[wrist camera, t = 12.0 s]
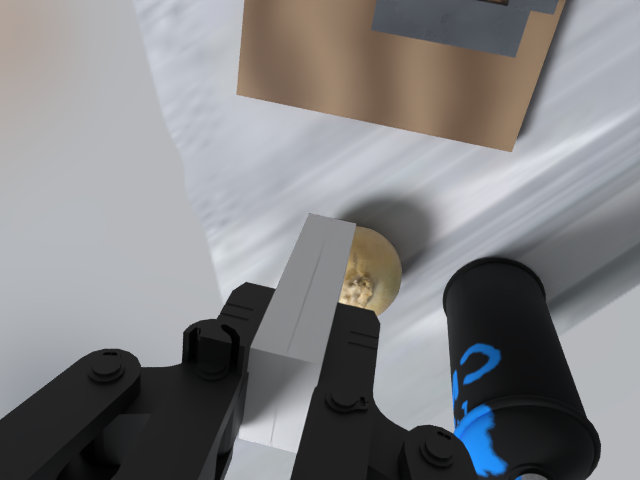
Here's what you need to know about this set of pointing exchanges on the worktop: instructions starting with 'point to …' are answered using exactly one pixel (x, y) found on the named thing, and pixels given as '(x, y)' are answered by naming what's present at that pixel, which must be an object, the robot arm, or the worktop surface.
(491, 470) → the aerosol can
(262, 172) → the worktop surface
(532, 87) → the base
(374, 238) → the onion
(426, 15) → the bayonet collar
